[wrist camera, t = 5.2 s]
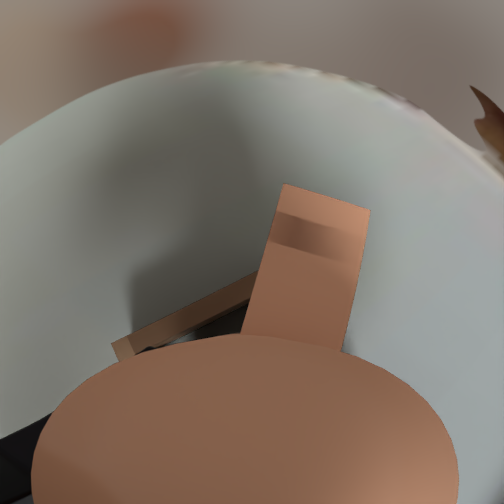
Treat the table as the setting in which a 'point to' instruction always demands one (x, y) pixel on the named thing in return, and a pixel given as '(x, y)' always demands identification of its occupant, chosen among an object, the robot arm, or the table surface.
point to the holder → (187, 318)
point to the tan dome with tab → (257, 399)
